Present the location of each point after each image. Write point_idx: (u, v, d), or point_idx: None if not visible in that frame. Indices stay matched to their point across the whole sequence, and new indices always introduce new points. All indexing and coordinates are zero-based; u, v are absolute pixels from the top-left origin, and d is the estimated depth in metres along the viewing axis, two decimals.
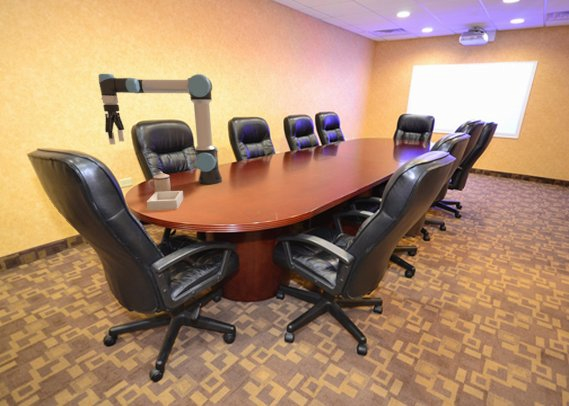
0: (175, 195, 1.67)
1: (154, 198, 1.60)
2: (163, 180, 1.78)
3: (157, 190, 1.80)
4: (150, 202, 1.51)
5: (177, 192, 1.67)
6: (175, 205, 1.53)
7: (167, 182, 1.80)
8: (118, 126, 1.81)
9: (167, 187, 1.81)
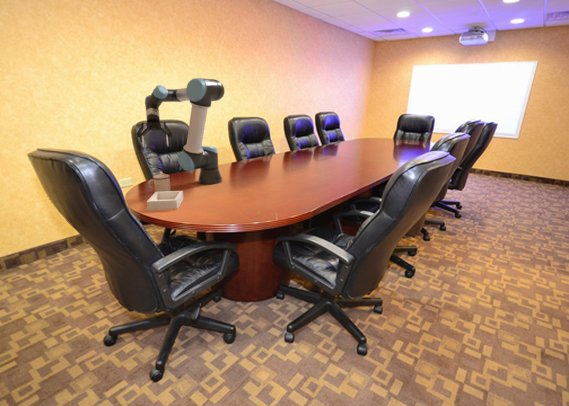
0: (175, 195, 1.67)
1: (154, 198, 1.60)
2: (163, 180, 1.78)
3: (157, 190, 1.80)
4: (150, 202, 1.51)
5: (177, 192, 1.67)
6: (175, 205, 1.53)
7: (167, 182, 1.80)
8: (164, 133, 1.90)
9: (167, 187, 1.81)
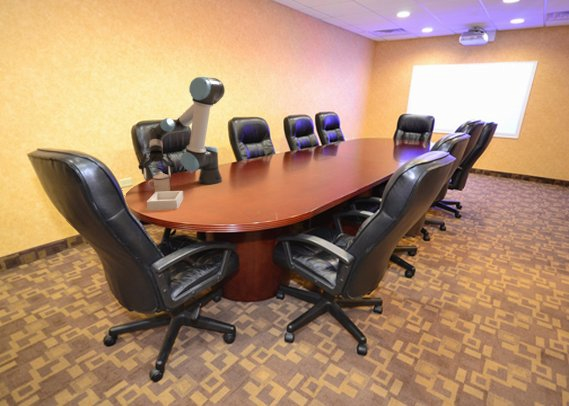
0: (175, 195, 1.67)
1: (154, 198, 1.60)
2: (163, 181, 1.78)
3: (156, 190, 1.79)
4: (150, 202, 1.51)
5: (177, 192, 1.67)
6: (175, 205, 1.53)
7: (166, 182, 1.80)
8: (167, 164, 1.88)
9: (166, 187, 1.80)
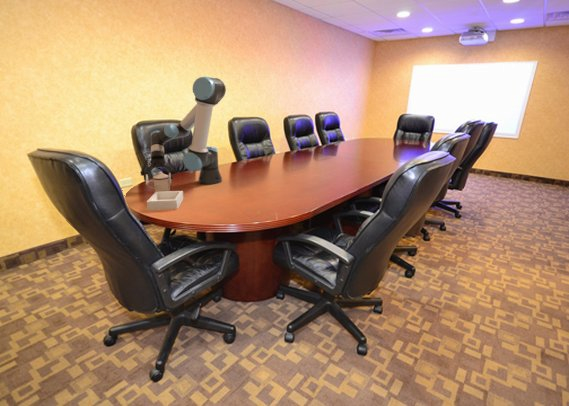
0: (175, 195, 1.67)
1: (154, 198, 1.60)
2: (162, 181, 1.77)
3: (156, 190, 1.79)
4: (150, 202, 1.51)
5: (177, 192, 1.67)
6: (175, 205, 1.53)
7: (166, 182, 1.79)
8: (167, 170, 1.85)
9: (166, 187, 1.80)
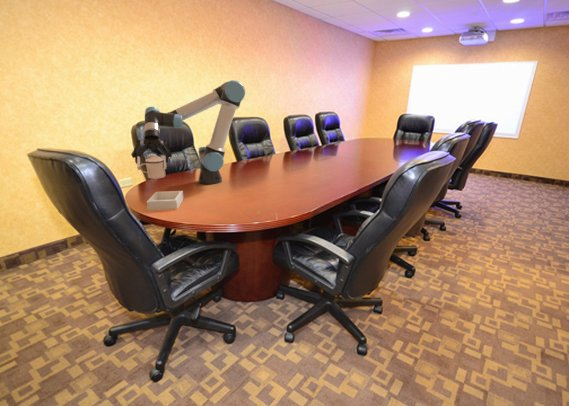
0: (175, 195, 1.67)
1: (154, 198, 1.60)
2: (156, 165, 1.55)
3: (149, 175, 1.58)
4: (150, 202, 1.51)
5: (177, 192, 1.67)
6: (175, 205, 1.53)
7: (160, 167, 1.57)
8: (162, 153, 1.62)
9: (160, 172, 1.58)
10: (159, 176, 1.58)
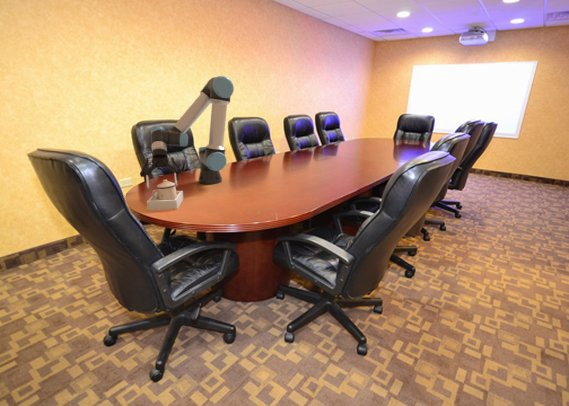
0: None
1: (154, 198, 1.60)
2: (168, 189, 1.55)
3: None
4: (150, 202, 1.51)
5: (177, 192, 1.67)
6: (175, 205, 1.53)
7: (172, 191, 1.57)
8: (172, 170, 1.64)
9: (173, 197, 1.57)
10: None
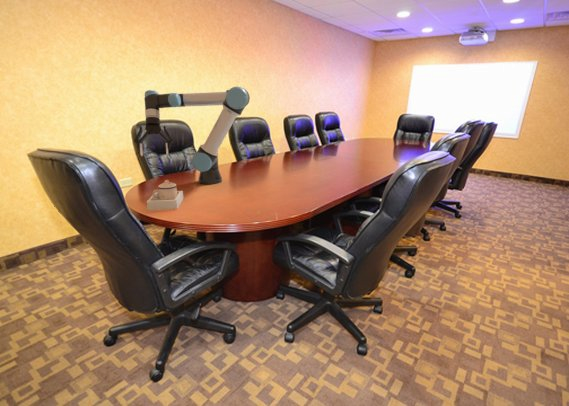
0: None
1: (154, 198, 1.60)
2: (169, 190, 1.55)
3: None
4: (150, 202, 1.51)
5: (177, 192, 1.67)
6: (175, 205, 1.53)
7: (173, 192, 1.57)
8: None
9: (173, 198, 1.57)
10: None
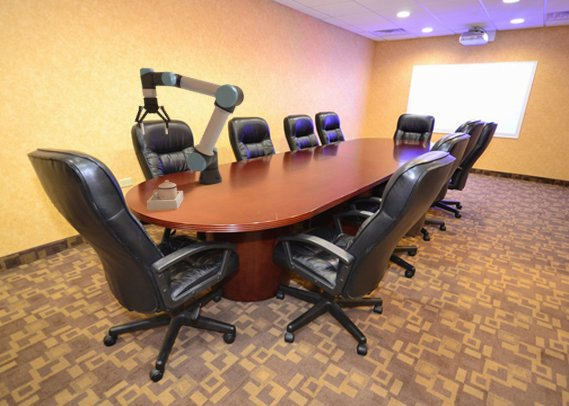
0: None
1: (154, 198, 1.60)
2: (169, 190, 1.55)
3: None
4: (150, 202, 1.51)
5: (177, 192, 1.67)
6: (175, 205, 1.53)
7: (173, 192, 1.57)
8: None
9: (173, 198, 1.57)
10: None
